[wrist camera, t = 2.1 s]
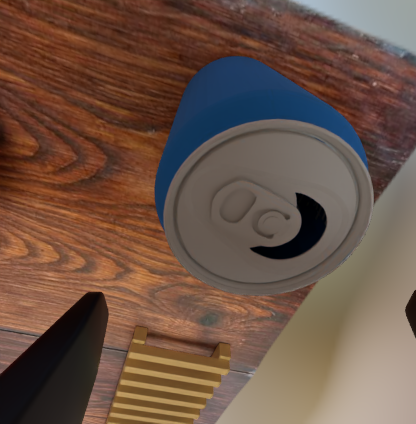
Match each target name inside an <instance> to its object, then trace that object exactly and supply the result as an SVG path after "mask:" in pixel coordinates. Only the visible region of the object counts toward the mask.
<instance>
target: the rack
mask: <svg viewBox="0 0 416 424" xmlns="http://www.w3.org/2000/svg"><path fill="white" fill-rule="evenodd" d="M147 331H148V328H144V327H139V326H136V328H135V331H134V334H133V338H132V341H131V344H130V347H129V350H128V353H127V357H126V360H125V363H124V366H123V369H122V373H121V376H120V379H119V382H118V385H117V388H116V392H115V395H114V398H113V401H112V404H111V407H110V411H109V414H108V417H107V420H106V423H105V424H193V419H198V417H199V416H200V409H204V408H205V407H206V398H209V399H211V397H212V396H213V387H219V385H220V384H221V374H223V375H227V374H228V372H229V371H230V367H229V360H230V358H231V353H230V344H225V343H219V344H218V346H217V348H216V349H215V351H214V353H213V355H212V356H211V357H205V356H200V355H195V354H189V353H184V352H179V351H173V350H168V349H163V348H157V347H152V346H147V345H144V344H145V341H146V336H147Z"/></svg>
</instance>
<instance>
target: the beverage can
mask: <svg viewBox="0 0 416 424" xmlns="http://www.w3.org/2000/svg"><path fill="white" fill-rule="evenodd" d="M155 203H156V209H157V214H158V217H159V220H160V223H161V225H162V227H163V229H164V231H165V235H166V238H167V241H168V244H169V246H170V248H171V250H172V252H173V254H174V256H175V257H176V258H177V260H178V261H179V262H180V264H181V265H182V266H183V267H184V268H185V269H186V270H187V271H188V272H189V273H191V274H192V275H193V276H194V277H196V278H197V279H199V280H201V281H202V282H204V283H206V284H208V285H210V286H212V287H214V288H217V289H220V290H223V291H226V292H230V293H234V294H241V295H252V296H263V295H274V294H281V293H285V292H290V291H294V290H297V289H300V288H303V287H305V286H308V285H310V284H312V283H314V282H316V281H318V280H320V279H322V278H324V277H325V276H327V275H328V274H330V273H331V272H333V271H334V270H335V269H336V268H338V267H339V266H340V265H342V264H343V263H344V262H345V261H346V260H347V259H348V257H350V255H352V253H353V252H354V251H355V249H356V248H357V247H358V245H359V244H360V242H361V241H362V239H363V237H364V236H365V233H366V231H367V229H368V227H369V224H370V220H371V217H372V212H373V205H374V194H373V187H372V182H371V178H370V175H369V173H368V164H367V159H366V154H365V151H364V148H363V146H362V143H361V141H360V138H359V137H358V135H357V134H356V132H355V130H354V129H353V127H352V126H351V125H350V123H349V122H348V121H347V120H346V119H345V118H344V116H342V115H341V114H340V113H339V112H338V111H336V110H335V109H334V108H333V107H331V106H330V105H328V104H327V103H325V102H323V101H322V100H320V99H319V98H317V97H316V96H314V95H312V94H311V93H309V92H308V91H306V90H305V89H303V88H301V87H300V86H298V85H297V84H295V83H294V82H292V81H290V80H289V79H287V78H286V77H284V76H283V75H281V74H279V73H278V72H276V71H275V70H273V69H271V68H270V67H268V66H267V65H265V64H263V63H262V62H260V61H258V60H255V59H253V58H249V57H243V56H230V57H225V58H221V59H218V60H215V61H213V62H211V63H209V64H207V65H206V66H205V67H203V68H202V69H201V70H199V71H198V72H197V73H196V74H195V75H194V77H193V78H192V79H191V80H190V82H189V83H188V85H187V87H186V89H185V91H184V93H183V96H182V99H181V102H180V105H179V108H178V110H177V113H176V116H175V119H174V122H173V125H172V128H171V131H170V134H169V137H168V140H167V143H166V146H165V148H164V151H163V154H162V157H161V160H160V163H159V167H158V170H157V174H156V180H155Z"/></svg>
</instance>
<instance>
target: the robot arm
mask: <svg viewBox="0 0 416 424" xmlns="http://www.w3.org/2000/svg"><path fill="white" fill-rule="evenodd" d="M405 312H406V316H407V319H408V321H409V323H410V326H411V328H412V331H413V333H414V335H415V338H416V290H415V291H414V293H413V294H412V296H411V298H410V300H409V302H408V304H407V306H406V309H405ZM108 316H109V313H108V308H107V304H106V301H105V297H104V294H103V293H102V292H88V293H86V294H85V295H84V296H83V297H82V298H81V299H80V300H79V301H77V302H76V303H75V304H74V305H73V306H72V307H71V308H70V309H69V310H68V311H67V312H66V313H65V314H64V315H63V316H62V317H61V318H59V319H58V320H57V321H56V322H55V323H54V324H53V325H52V326H51V327H50V328H49V329H48V330H47V331H46V332H45V333H44V334H43V335H41V336H40V337H39V338H38V339H37V340H36V341H35V342H34V343H33V344H32V345H31V346H30V347H29V348H28V349H27V350H26V351H25V352H23V353H22V354H21V355H20V356H19V357H18V358H17V359H16V360H15V361H14V362H13V363H12V364H11V365H10V366H9V367H8V368H7V369H5V370H4V371H3V372H2V373H1V374H0V424H82V421H83V418H84V414H85V411H86V408H87V405H88V402H89V398H90V395H91V392H92V389H93V385H94V382H95V379H96V375H97V372H98V367H99V363H100V358H101V353H102V347H103V342H104V337H105V332H106V327H107V322H108Z"/></svg>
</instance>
